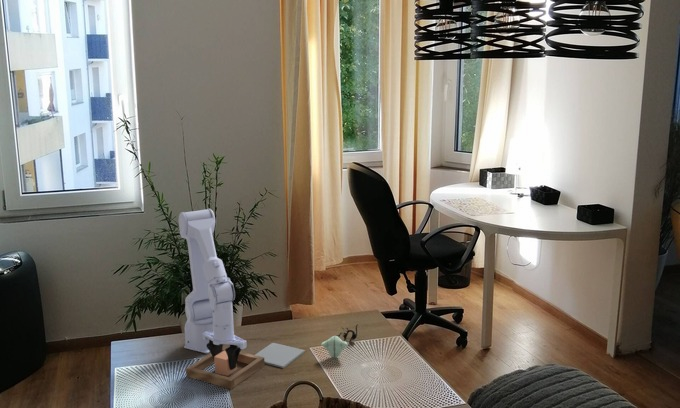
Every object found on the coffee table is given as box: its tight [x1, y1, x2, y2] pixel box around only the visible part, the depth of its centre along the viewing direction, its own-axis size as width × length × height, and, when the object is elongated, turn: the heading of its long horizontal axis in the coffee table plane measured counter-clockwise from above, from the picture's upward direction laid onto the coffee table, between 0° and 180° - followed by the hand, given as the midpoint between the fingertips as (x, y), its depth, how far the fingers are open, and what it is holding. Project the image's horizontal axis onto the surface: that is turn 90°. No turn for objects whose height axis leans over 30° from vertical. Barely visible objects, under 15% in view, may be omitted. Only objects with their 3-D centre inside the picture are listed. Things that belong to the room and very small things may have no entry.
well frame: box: [185, 347, 266, 390], centre depth 198 cm, size 16×16×2 cm
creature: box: [335, 324, 359, 344], centre depth 216 cm, size 8×5×8 cm
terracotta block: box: [214, 351, 238, 377], centre depth 197 cm, size 4×4×5 cm
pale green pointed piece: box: [320, 335, 349, 359], centre depth 205 cm, size 8×4×7 cm, turn 86°
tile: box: [254, 342, 306, 369], centre depth 207 cm, size 12×12×1 cm
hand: (225, 366), depth 198 cm, fingers closed on terracotta block, 4 cm apart
